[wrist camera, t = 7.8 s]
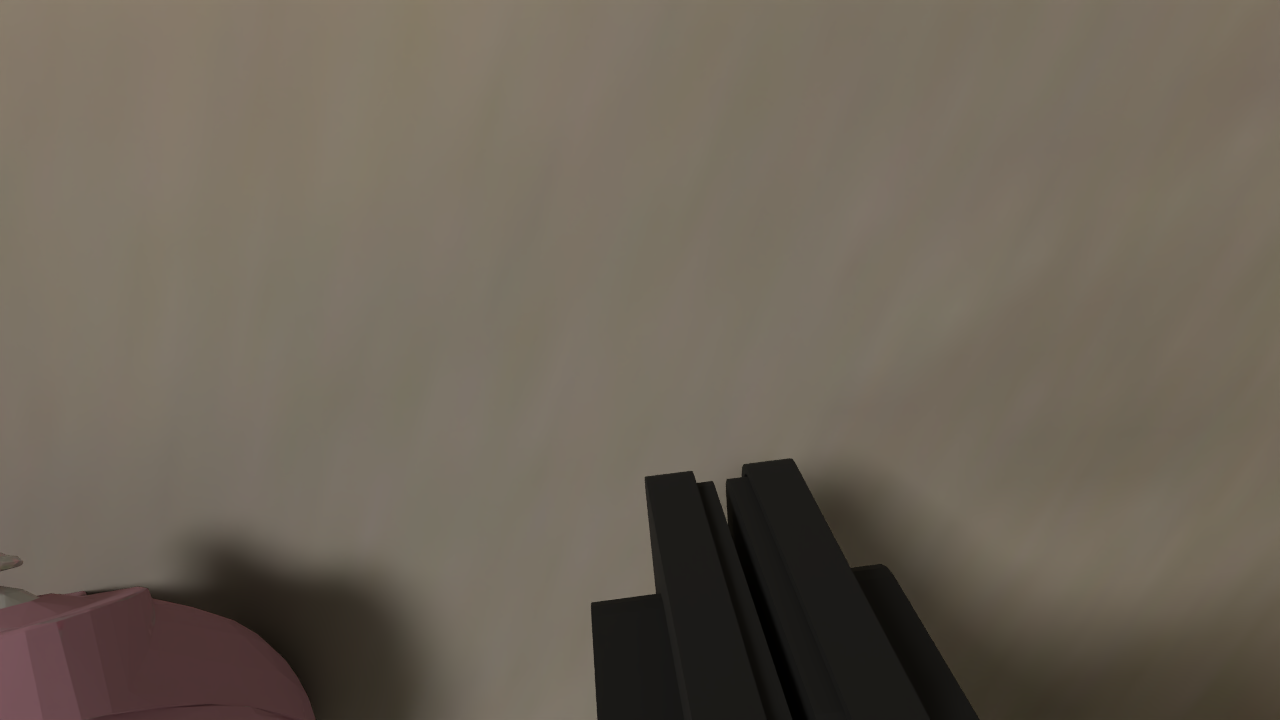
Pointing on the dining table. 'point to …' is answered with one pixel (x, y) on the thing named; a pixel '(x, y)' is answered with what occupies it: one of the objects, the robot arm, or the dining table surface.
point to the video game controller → (135, 661)
